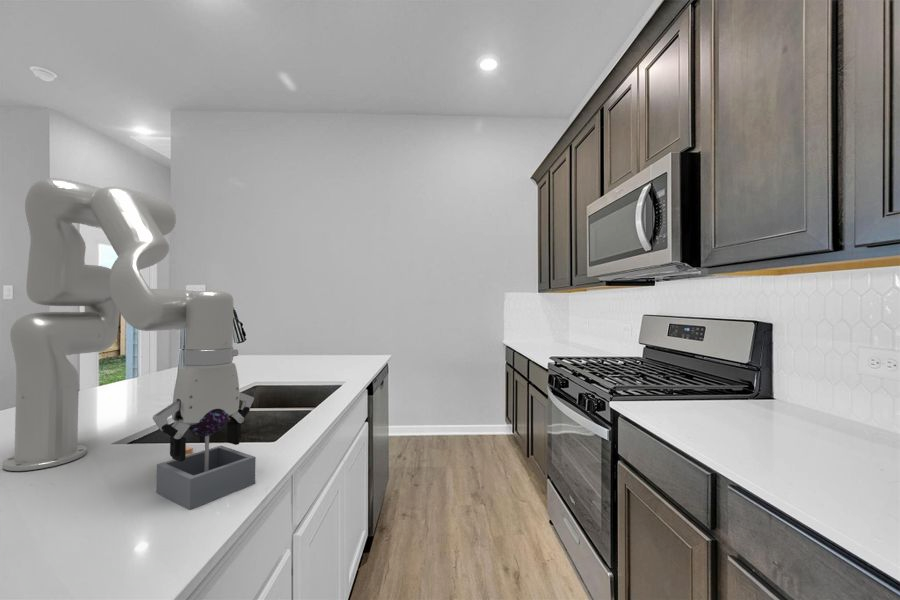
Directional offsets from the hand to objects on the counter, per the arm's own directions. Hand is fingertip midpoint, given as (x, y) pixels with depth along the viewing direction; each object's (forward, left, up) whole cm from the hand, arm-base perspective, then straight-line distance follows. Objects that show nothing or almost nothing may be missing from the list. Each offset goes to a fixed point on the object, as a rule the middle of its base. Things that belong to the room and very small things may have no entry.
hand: (207, 451), depth 74 cm
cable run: (-13, +3, -7) cm, 15 cm away
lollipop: (0, 0, -6) cm, 6 cm away
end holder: (0, 0, -7) cm, 7 cm away
